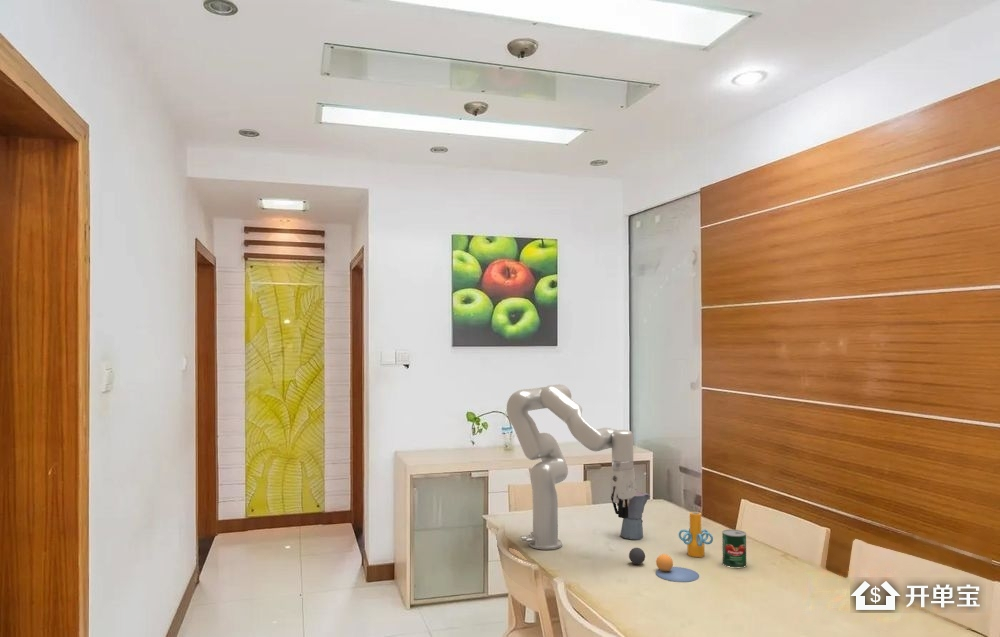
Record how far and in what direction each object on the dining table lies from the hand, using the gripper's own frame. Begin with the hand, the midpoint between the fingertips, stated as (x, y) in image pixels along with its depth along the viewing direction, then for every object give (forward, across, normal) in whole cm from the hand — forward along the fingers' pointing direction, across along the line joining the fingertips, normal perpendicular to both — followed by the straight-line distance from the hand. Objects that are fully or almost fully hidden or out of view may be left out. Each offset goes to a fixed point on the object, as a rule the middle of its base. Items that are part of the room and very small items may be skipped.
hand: (623, 517), depth 239 cm
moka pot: (+15, +26, +14) cm, 33 cm away
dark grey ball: (+12, 0, -6) cm, 14 cm away
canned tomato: (+15, +22, -30) cm, 41 cm away
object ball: (+12, 0, -16) cm, 20 cm away
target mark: (+15, 0, -21) cm, 26 cm away
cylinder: (+15, +23, -16) cm, 32 cm away
